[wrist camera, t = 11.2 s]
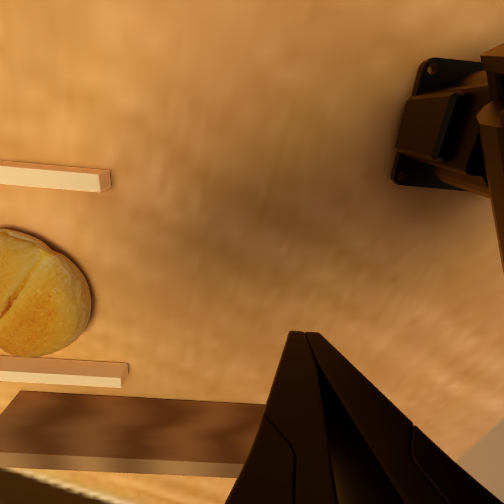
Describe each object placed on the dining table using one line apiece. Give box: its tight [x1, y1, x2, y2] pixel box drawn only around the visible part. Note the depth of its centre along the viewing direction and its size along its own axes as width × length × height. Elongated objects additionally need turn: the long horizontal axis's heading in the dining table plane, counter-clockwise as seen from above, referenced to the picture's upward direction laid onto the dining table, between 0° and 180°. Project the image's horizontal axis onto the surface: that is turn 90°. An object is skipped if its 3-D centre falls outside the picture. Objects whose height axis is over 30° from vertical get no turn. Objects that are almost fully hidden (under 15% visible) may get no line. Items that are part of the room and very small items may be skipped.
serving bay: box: [0, 160, 128, 388], centre depth 21 cm, size 13×16×2 cm
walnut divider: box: [0, 391, 266, 478], centre depth 24 cm, size 22×2×5 cm, turn 85°
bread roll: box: [0, 229, 91, 357], centre depth 20 cm, size 8×9×4 cm
